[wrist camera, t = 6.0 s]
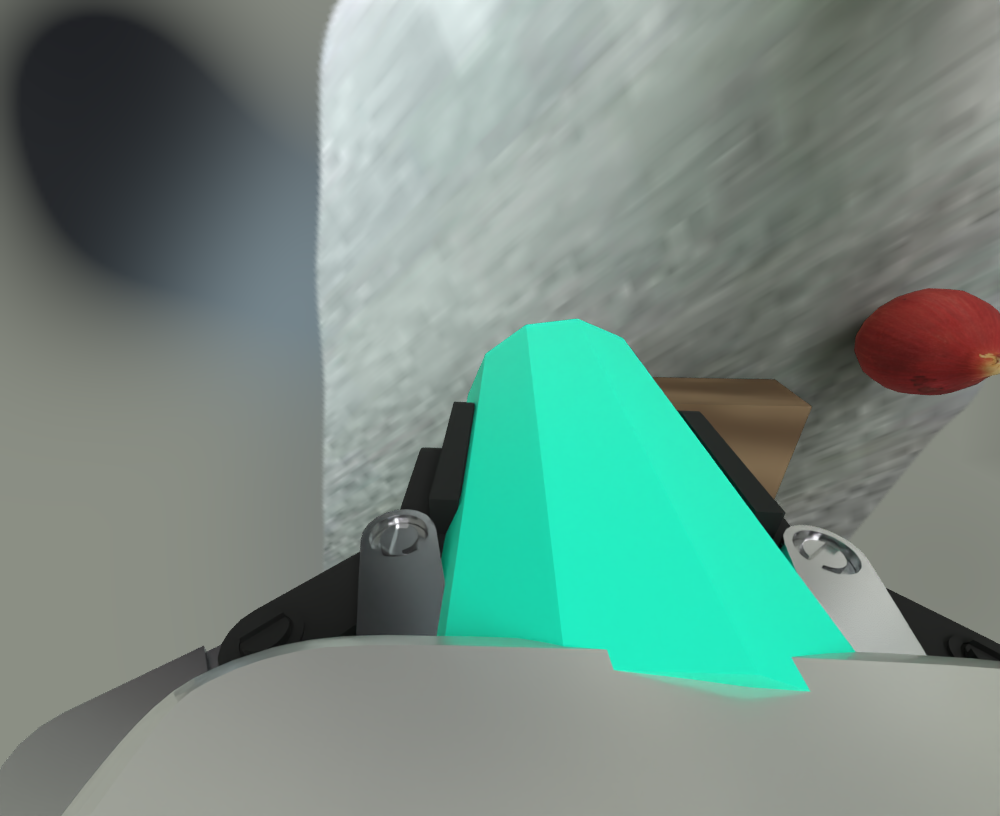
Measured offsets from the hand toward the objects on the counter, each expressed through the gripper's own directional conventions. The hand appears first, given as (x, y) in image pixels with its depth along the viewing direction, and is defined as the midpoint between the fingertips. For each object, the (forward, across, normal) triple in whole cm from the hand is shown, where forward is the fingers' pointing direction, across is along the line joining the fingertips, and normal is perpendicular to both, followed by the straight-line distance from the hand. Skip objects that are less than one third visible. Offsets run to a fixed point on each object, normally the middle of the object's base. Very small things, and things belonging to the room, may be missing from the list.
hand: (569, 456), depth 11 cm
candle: (+3, 0, 0) cm, 3 cm away
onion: (+18, -22, +1) cm, 28 cm away
